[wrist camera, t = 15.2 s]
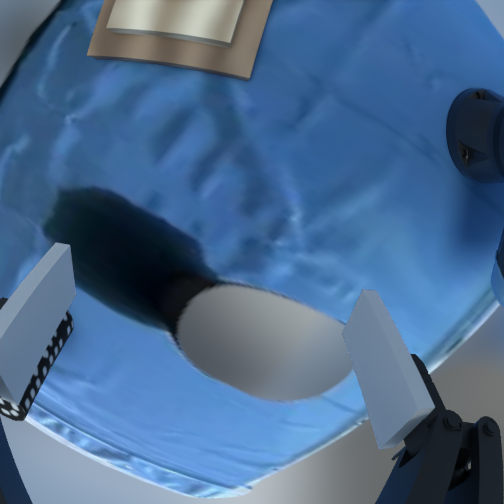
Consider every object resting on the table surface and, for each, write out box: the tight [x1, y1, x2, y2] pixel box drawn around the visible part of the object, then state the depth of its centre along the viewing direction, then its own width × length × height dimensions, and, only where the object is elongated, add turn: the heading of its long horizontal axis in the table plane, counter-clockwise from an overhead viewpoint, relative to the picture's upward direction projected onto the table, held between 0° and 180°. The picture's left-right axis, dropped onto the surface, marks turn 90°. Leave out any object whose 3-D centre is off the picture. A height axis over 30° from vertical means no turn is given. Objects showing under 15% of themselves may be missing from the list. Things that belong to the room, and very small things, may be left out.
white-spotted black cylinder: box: [0, 310, 73, 421], centre depth 37 cm, size 8×8×20 cm
